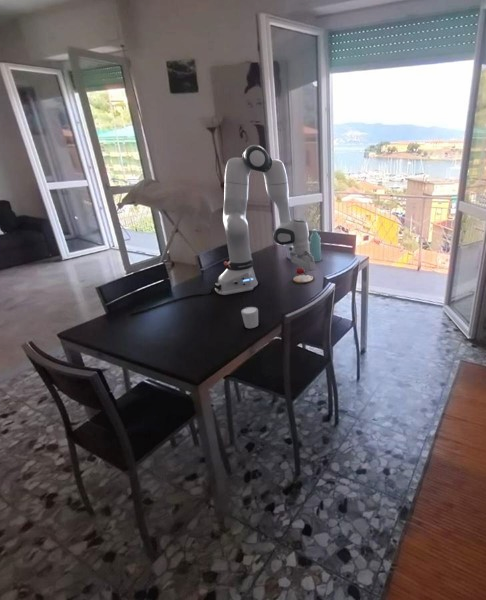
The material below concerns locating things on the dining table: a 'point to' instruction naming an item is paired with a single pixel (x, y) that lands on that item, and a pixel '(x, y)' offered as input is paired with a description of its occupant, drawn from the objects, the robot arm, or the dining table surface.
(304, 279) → the coaster
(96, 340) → the dining table surface
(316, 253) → the bottle
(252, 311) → the white cylinder
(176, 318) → the dining table surface
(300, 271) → the cap
